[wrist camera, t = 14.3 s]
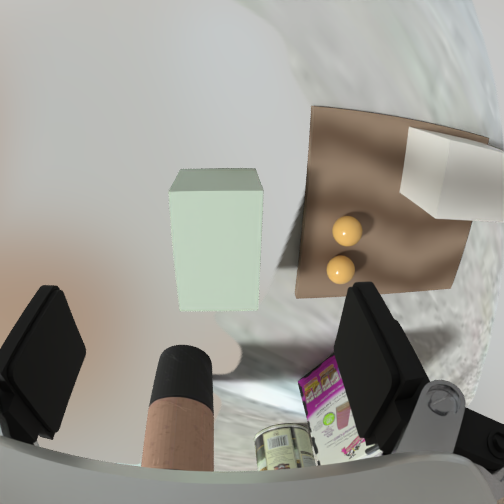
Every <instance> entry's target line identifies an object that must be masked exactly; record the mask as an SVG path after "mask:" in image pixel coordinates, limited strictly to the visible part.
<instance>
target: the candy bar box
mask: <svg viewBox="0 0 504 504" xmlns="http://www.w3.org/2000/svg"><path fill="white" fill-rule="evenodd" d="M298 385H299V389H300V393H301V397H302V401H303V405H304V409H305V413H306V417H307V422H308V425H309V429H310V434H311V438H312V442H313V446H314V450H315V454H316V458H317V462H318V466H319V465H327V464H334V463H341V462H348V461H354V460H359V459H365V458H371V457H377V456H379V455H380V454H381V452H382V451H381V450H380V449H379V446H378V444H374V445H369V446H366V443H365V439H364V438H360V437H359V435H358V432H357V429H356V425H355V422H354V418H353V415H352V412H351V408H350V405H349V401H348V398H347V395H346V391H345V388H344V385H343V381H342V378H341V375H340V372H339V368H338V365H337V362H336V359H335V355H334V354H333V355H332V356H330V357H329V358H328V359H327V360H325V361H324V362H323V363H322V364H320V365H319V366H318V367H316V368H315V369H314V370H313V371H311V372H310V373H309V374H307V375H306V376H305V377H303V378H302V379H301V380H299V381H298Z"/></svg>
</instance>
